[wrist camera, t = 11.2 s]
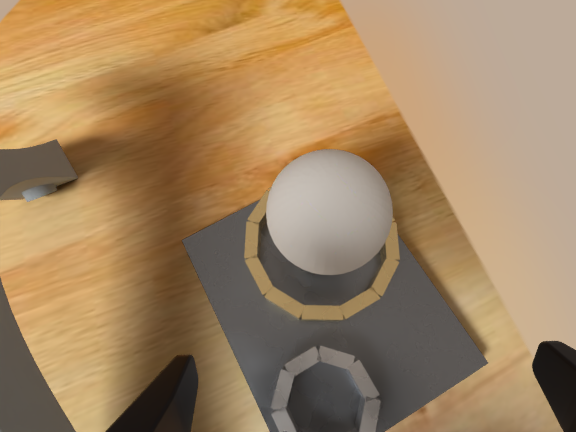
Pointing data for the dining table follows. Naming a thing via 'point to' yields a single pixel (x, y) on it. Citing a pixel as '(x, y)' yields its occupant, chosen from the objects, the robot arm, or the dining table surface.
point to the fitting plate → (330, 330)
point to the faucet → (3, 327)
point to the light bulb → (329, 212)
